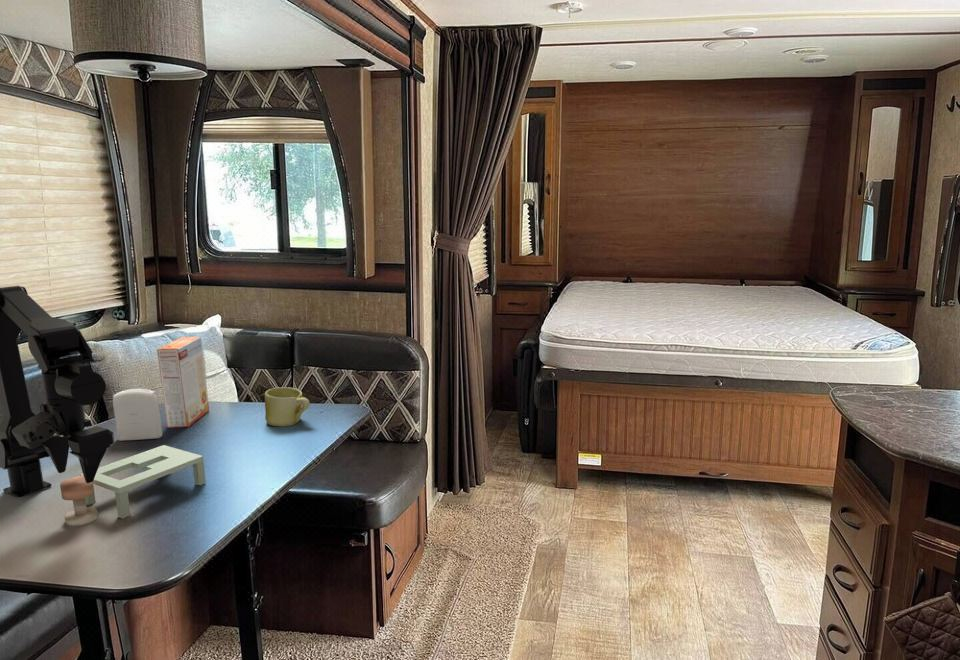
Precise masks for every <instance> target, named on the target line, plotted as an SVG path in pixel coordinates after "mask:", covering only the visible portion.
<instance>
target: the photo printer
mask: <svg viewBox="0 0 960 660" xmlns="http://www.w3.org/2000/svg"><path fill="white" fill-rule="evenodd" d="M112 407H113V408H112V409H113V415H114V421H115V427H116V434H117V435H116V436H117V440H118V441H119V442H120V441H122V442H123V441H138V440H153V439H160V438H161V437H162V436H163V429H162V428H163V427H162V420H161V415H160V413H161V412H160V406H159V398H158V394H157V392H156V391H154V390H152V389H147V388H130V389H126V390H122V391H118V392H117V393H115V394H114V395H113V397H112Z"/></svg>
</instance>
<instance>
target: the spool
mask: <svg viewBox="0 0 960 660" xmlns="http://www.w3.org/2000/svg"><path fill="white" fill-rule="evenodd" d="M59 487H60V488H59V489H60V493H61V499H62V500H64V501H72V503H73V509H72V510H71V511H69V512H67V513H66V514H65V515H64V519H65V525H66V526H69V527H78V526H79V527H80V526H83V525H84V526H85V525H88V524H91V523H93V522H94V521H96V520H97V519H98V517H99V515H98V510H97V508H95V507H91V506H89V507H88V506H87V505H86V500H85V497H88V496H90V495H92V494H93V493H95V488H94V487H95V486H94V484H93V482H91V483H86V481H85V478H84V476H80V475H77V476H73V477H70V478H67V479H64V480H63V481H61V482H60V484H59Z"/></svg>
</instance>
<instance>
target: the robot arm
mask: <svg viewBox="0 0 960 660" xmlns="http://www.w3.org/2000/svg"><path fill="white" fill-rule="evenodd" d="M21 332H24V334H25V335H26V336H27V337H28V339H27V340H28V341H27V344H28V349H29V352H30V354H31V355H32V357H33V358H34V360H35V361H36V363H37V364H38V365H37V367H38V369H39V370H40V371H41V379H42V387H43V393H44V399H45V401H43V402H41V403H40V405H39V413H37V414H36V413H35V412H33V410H32V406H31V401H30V395H29V391H28V386H27V381H26V377H25V372H24V368H23V362H22V359H21V354H20V349H19V344H18V343H19V342H18V338H19V336H20V334H21ZM86 340H87V339H86V338H85V336H84V335H83V334H82V332H81V330H80V329H79V328H77V326H76V325H74V324H73V323H71V322H70V321H68V320H66V319H63V318H59V317H53V316H51V315H50V314H49V313H48V312H47V311H46V310H45V309H44V308H42V306H40V304H38V303H37V302H36V301H35V300H34V299H33V298H32V297H31V296H30V295H29V293H28V290H27V288H25V286H21V285H12V286H4V287H3V286H2V287H0V403H1V407H2V412H3V417H2V419H1V421H0V468H1V469H3V470H7V476H8V480H9V481H8V482H9V486H8V487H4V488H3V492H4V493H7V494H9V495H11V496H14V497H15V498H22V497H24V496H28V495H31V494H34V493H37V492H39V491H42V490H45V489H49V488H50V487H52V486H53V485H52V483H50V482H48V481H45V480H44V477H43V470H42V465H41V459H44V458H50V460H51V461H52V463H53V465H54V467H55V469H56V470H57V473H59V474H62V473H65V472H66V470H67V465H68V458H69V454H71V455H73V456H74V457H77V458H78V461H79V465H80V468H81V471H82V473H83V475H84V478H85V481H86V483H91V482H93V480H94V478H95V475H96V473H97V470H98V468H100V465H101V462H102V459H103V458H104V455H105V454H106V451H107V449H108V448H109V449H110V448H111V445H114V444H115V436H114V432H113V431H111V429H108V428H105V427H102V426H99V425H96V426H92V421H91V419H89V418H86V414H85V412H86V411H85V406H90V405H94V404H96V403H97V402H99V401H100V400H101V399H102V398H103V397H104V395H105V393H106V389H107V386H106V381H105V379H104V378H103V376H102V375H101V374H99V373H98V372H95V371H92V365H91V364H89V363H94V358H93V356H92V354H93V350H92V349H91V347H90V346H89V344H88V341H86ZM78 353H79V354H78ZM90 426H92V427H90ZM87 427H89V428H87ZM85 428H86V429H85Z"/></svg>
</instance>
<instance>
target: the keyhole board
mask: <svg viewBox="0 0 960 660" xmlns="http://www.w3.org/2000/svg"><path fill="white" fill-rule="evenodd" d="M191 466H192V470H193V471H192V473H193V479H194V485H195V484H197V485H201V486H203V485H202V484H204V485H206V484H207V482H206V472H205V464H204V456H203V455H202V454H201V455H200V454H197V453H194V452H190V451H187V450H183V449H180V448H176V447H172V446H169V445H165V444H163V445H160V446H157V447H155V448H151V449H149V450H146V451H143V452H140V453H138V454H134V455H132V456H127V457H126V458H123V459H119V460H117V461H115V462H112V463H108V464H106V465H103V466H99V467H98V470H97V473H96V475H95V478H94V480H93V485H95V486H98V487H101V488H104V489H107V490H109V491H112V492H114V494H115V502H116V509H117V517H118V518H120V517H121V518H120V519H126V518H128V517H131V508H130V502H129V493H128V491H130V490H132V489H134V488H137V487H139V486H143V485H145V484H147V483H150V482H153V481H155V480H157V479H160V478H162V477H165V476H168V475H170V474H173V473H175V472H178V471H180V470H183V469H185V468H188V467H191ZM131 468H136V469H138V470H140V469H142V468H145V471H144V470H143V471H142V472H139V473H136V474H133V475H131V476H129V477H126V478H123V479H121V480H120V479H117V478H114V477H111V476H112V475H115V474H117V473H121V472H123V471H125V470H129V469H131ZM79 476H84V475H83V472H82V473H80V474H79ZM205 483H206V484H205ZM197 485H196V486H197ZM95 495H96V494H95V492H94V493H93V494H92V495H90V496H88V497H85V500H86V506H90V505H92V504H95V503H97V501H96V496H95ZM127 516H128V517H127ZM125 517H126V518H125Z"/></svg>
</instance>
